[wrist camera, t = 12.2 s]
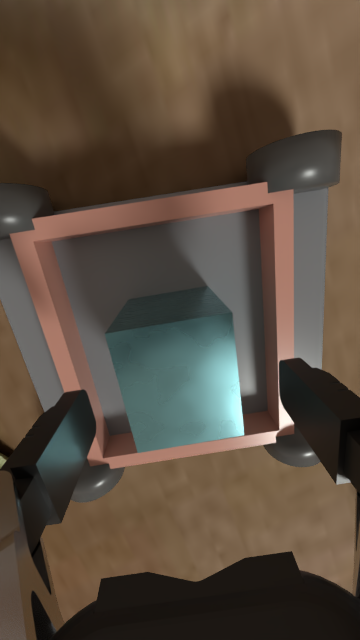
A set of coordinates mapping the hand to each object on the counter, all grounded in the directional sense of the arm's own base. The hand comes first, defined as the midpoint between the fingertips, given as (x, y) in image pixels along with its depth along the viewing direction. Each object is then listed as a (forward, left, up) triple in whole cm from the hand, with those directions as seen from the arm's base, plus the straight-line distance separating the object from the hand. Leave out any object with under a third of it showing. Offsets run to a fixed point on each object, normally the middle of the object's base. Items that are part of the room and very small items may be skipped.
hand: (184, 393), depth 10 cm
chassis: (0, 0, -8) cm, 8 cm away
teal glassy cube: (0, 0, -6) cm, 6 cm away
